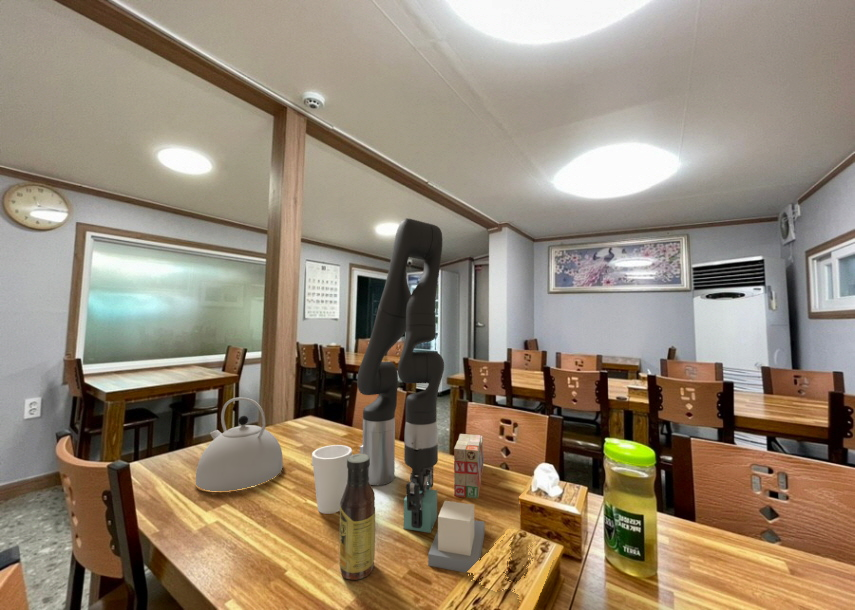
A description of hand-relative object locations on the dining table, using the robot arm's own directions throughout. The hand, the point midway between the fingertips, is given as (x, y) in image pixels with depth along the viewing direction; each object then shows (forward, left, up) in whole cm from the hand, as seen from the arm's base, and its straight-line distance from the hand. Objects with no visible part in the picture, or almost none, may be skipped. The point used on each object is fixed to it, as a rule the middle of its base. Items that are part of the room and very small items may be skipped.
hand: (421, 518), depth 74 cm
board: (+9, -6, -1) cm, 11 cm away
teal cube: (0, 0, -1) cm, 1 cm away
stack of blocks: (+8, +24, -1) cm, 26 cm away
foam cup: (-23, +1, -1) cm, 23 cm away
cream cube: (+9, -8, +1) cm, 12 cm away
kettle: (-60, +10, -1) cm, 61 cm away
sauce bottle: (-7, -17, -1) cm, 18 cm away
